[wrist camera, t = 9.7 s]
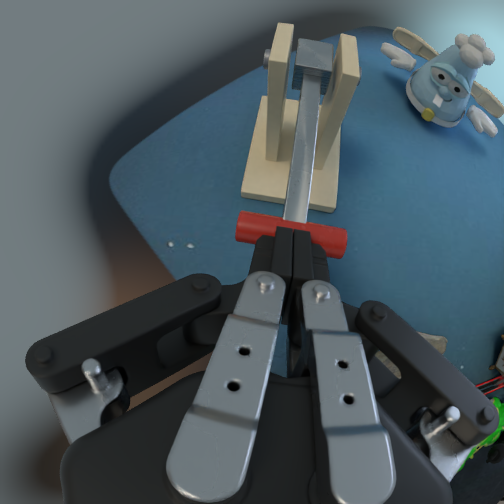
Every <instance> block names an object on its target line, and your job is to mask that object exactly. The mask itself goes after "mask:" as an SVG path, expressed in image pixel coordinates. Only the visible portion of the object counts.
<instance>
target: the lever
mask: <svg viewBox="0 0 504 504" xmlns="http://www.w3.org/2000/svg"><path fill="white" fill-rule="evenodd" d="M332 73H333V44H329V43H324V42H319V41H313V40H308V39H302V38H299V40H298V46H297V52H296V59H295V66H294V74H293V82H292V89H295V90H301V91H300V98H299V106H298V113H297V121H296V128H295V135H294V142H293V149H292V156H291V163H290V170H289V176H288V183H287V189H286V196H285V202H284V209H283V215H282V217H277V216H271V215H265V214H259V213H253V212H247V211H241V212H240V214H239V217H238V221H237V226H236V235H235V238H236V241H238V242H244V243H250V244H256V241H257V239H258V238H259V237H261V236H262V235H268V236H274V237H275V231H276V226H281V227H287V228H293V230H294V229H298V230H304V231H310V234H311V243H315V244H320V245H321V246H322V248H323V249H324V250H325V251H326V257H331V258H336V259H341V258H342V257H343V255H344V253H345V250H346V246H347V231H346V229H343V228H338V227H332V226H327V225H322V224H316V223H311V222H306V221H307V214H308V207H309V199H310V191H311V183H312V174H313V166H314V157H315V147H316V137H317V127H318V116H319V104H320V94H322V95H326V93H327V90H328V86H329V83H330V79H331V76H332Z"/></svg>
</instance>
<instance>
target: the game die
mask: <svg viewBox="0 0 504 504" xmlns="http://www.w3.org/2000/svg"><path fill="white" fill-rule="evenodd" d="M501 336H502V339H503V340H504V334H503V335H501ZM494 368H496V369H497V370H498V371H499V372H500V373H501V375H502V376H503V377H504V344H503V346H502V349H501V352H500V354H499V357H498V359H497V361H496V364H495V365H492V366H490V367H489V369H490V370H492V369H494Z"/></svg>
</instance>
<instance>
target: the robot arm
mask: <svg viewBox="0 0 504 504" xmlns="http://www.w3.org/2000/svg"><path fill="white" fill-rule="evenodd" d="M327 265H328V264H327V257H326V251H325V250H324V249H323V248H322V246H321V245H320V244H315V243H311V234H310V231H304V230H298V229H294V230H293V228H287V227H281V226H276V231H275V237H274V236H268V235H262V236H261V237H259V238H258V239H257V241H256V245H255V249H254V254H253V257H252V261H251V266H250V270H249V274H248V276H247V278H246V279H245V280H244V281H242V282H240V283H237V284H234V285H221V283H220V281H219V280H218V279H217V278H215V277H213V276H211V275H208V274H192V275H189V276H187V277H184V278H182V279H180V280H177V281H175V282H173V283H171V284H168V285H166V286H164V287H161V288H159V289H157V290H154V291H152V292H150V293H147V294H145V295H143V296H140V297H138V298H136V299H133V300H131V301H129V302H126V303H124V304H122V305H119V306H117V307H115V308H113V309H110V310H108V311H106V312H103V313H101V314H99V315H96V316H94V317H92V318H89V319H87V320H85V321H82V322H80V323H78V324H76V325H73V326H71V327H69V328H67V329H64V330H62V331H59V332H58V333H55V334H53V335H50V336H48V337H46V338H43V339H41V340H39V341H37V342H36V343H34V344H33V345H32V346H31V347H30V348H29V350H28V352H27V354H26V359H25V362H26V367H27V369H28V370H29V372H30V373H31V375H32V376H33V377H34V379H35V380H36V381H37V383H38V384H39V385H40V387H41V388H42V389H43V390H44V391H45V393H46V394H47V395H48V396H49V398H50V401H51V403H52V406H53V408H54V410H55V413H56V415H57V418H58V420H59V422H60V424H61V427H62V428H63V431H64V433H65V435H66V437H67V439H68V441H69V443H70V446H69V447H68V448H67V450H66V452H65V454H64V455H63V458H62V461H61V466H60V479H61V485H62V491H63V499H64V504H453V494H452V489H451V486H450V484H449V482H450V481H451V480H452V478H453V477H454V476H455V474H456V473H457V471H458V470H459V468H460V467H461V465H462V464H463V463H464V461H465V459H466V458H467V456H468V455H469V453H470V452H471V450H472V449H473V448H474V447H476V446H477V445H478V444H479V443H480V442H481V441H483V440H484V439H486V438H487V437H488V436H490V435H491V434H492V433H494V432H495V431H496V430H497V428H498V425H499V413H498V410H497V408H496V407H495V405H494V404H493V403H492V402H491V401H490V400H489V399H488V398H487V397H486V396H485V395H484V394H483V393H482V392H481V391H480V390H479V389H478V388H477V387H476V386H475V385H474V384H473V383H472V382H471V381H470V380H469V379H468V378H467V377H466V376H465V375H463V374H462V373H461V372H460V371H459V370H458V369H457V368H456V367H455V366H454V365H453V364H452V363H451V362H450V361H449V360H448V359H446V358H445V357H444V356H443V355H442V354H441V353H440V352H439V351H438V350H437V349H436V348H434V347H433V346H432V345H431V344H430V343H429V342H428V341H427V340H426V339H425V338H423V337H422V336H421V335H420V334H419V333H418V332H417V331H416V330H414V329H413V328H412V327H411V326H410V325H409V324H408V323H407V322H405V321H404V320H403V319H402V318H401V317H400V316H398V315H397V314H396V313H395V312H394V311H393V310H392V309H390V308H389V307H388V306H387V305H385V304H383V303H381V302H378V301H366V302H364V303H362V305H361V306H360V308H356V307H354V306H351V305H348V304H346V303H344V302H342V301H341V297H340V294H339V292H338V290H337V289H336V288H335V287H334V286H333V285H331V284H330V277H329V270H328V266H327ZM281 316H282V321H281V324H284V325H288V330H287V333H288V336H287V339H286V350H287V378H285V377H282V376H279V375H277V374H274V373H271V372H270V368H271V363H272V359H273V354H274V349H275V344H276V339H277V334H278V329H279V324H280V320H281ZM378 349H379V350H380V351H381V352H382V353H383V354H384V355H385V356H386V357H387V358H388V359H389V360H390V361H391V362H392V363H393V364H395V365H396V366H397V367H398V369H399V370H400V373H401V378H400V379H399V378H397V377H396V376H395V375H394V374H393V373H392V372H391V371H390V370H389V369H388V368H387V367H386V366H385V365H384V364H383V363H382V362H381V361H380V360H379V359H378V358H377V357H376V356H375V354H376V352H377V351H378ZM213 350H214V352H213V354H212V356H211V359H210V361H209V364H208V367H207V369H206V370H205V371H200V372H197V373H194V374H191V375H188V376H186V377H184V378H182V379H180V380H179V381H177V382H176V383H174V384H172V385H171V386H169V387H168V388H166V389H164V390H163V391H161V392H159V393H158V394H156V395H155V396H153V397H151V398H149V399H148V400H146V401H144V402H143V403H141V404H139V405H138V406H136V407H134V408H132V409H131V410H129V411H127V409H128V408H129V406H130V397H132V396H134V395H136V394H138V393H140V392H142V391H143V390H145V389H147V388H149V387H151V386H153V385H155V384H156V383H158V382H160V381H162V380H164V379H165V378H167V377H169V376H171V375H173V374H174V373H176V372H178V371H180V370H181V369H183V368H185V367H186V366H188V365H190V364H192V363H193V362H195V361H197V360H199V359H200V358H202V357H204V356H205V355H207V354H209V353H210V352H212V351H213ZM126 411H127V412H126ZM500 501H504V497H503V498H502V499H501V500H500Z"/></svg>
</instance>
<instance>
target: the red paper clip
mask: <svg viewBox="0 0 504 504" xmlns="http://www.w3.org/2000/svg"><path fill="white" fill-rule="evenodd" d="M497 381H498V382H497ZM495 382H496V383H495ZM494 383H495V384H494ZM491 384H493V385H497V386H495V387H494V386H493V387H491V388H488V389H486V390H484V391H481V392H482V393H483V394H484V395H486V394H488V393H490V392H493V391H495V390H497V389H499V388H501V387H504V377H503V376H502V375H501V376H499V377H496V378H494V379H492V380H489V381H487V382H484V383H482V384H479V385H476V387H477V388H478V389H482V388H484V387H487V386H489V385H491Z"/></svg>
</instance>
